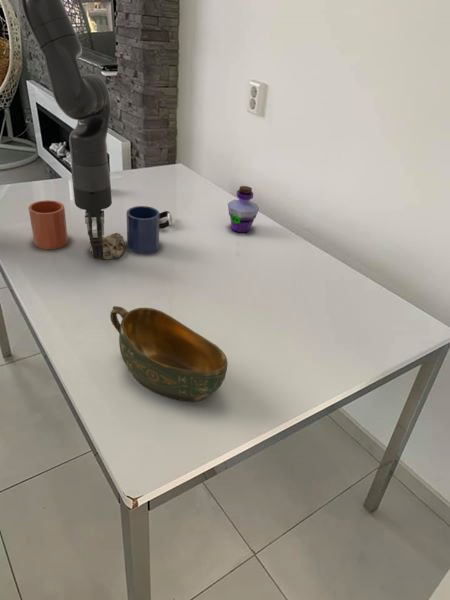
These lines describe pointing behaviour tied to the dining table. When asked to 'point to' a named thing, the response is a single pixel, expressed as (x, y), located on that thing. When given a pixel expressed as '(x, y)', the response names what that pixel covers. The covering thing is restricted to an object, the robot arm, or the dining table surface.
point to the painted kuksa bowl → (168, 354)
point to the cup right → (143, 229)
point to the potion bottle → (242, 210)
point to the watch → (168, 222)
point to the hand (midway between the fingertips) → (98, 257)
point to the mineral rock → (112, 246)
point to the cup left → (48, 224)
